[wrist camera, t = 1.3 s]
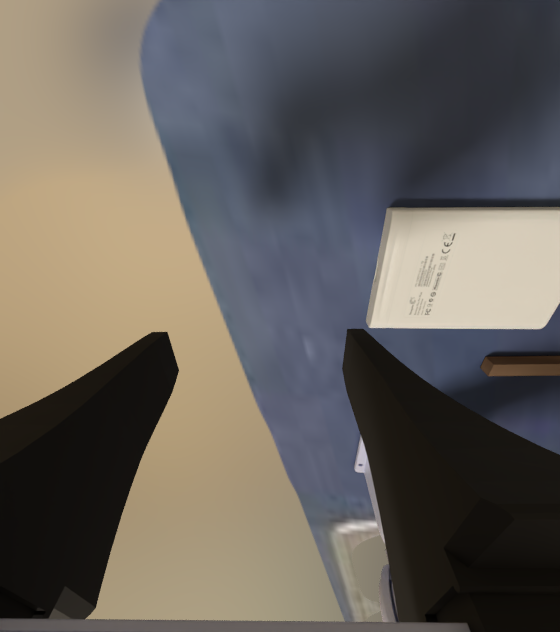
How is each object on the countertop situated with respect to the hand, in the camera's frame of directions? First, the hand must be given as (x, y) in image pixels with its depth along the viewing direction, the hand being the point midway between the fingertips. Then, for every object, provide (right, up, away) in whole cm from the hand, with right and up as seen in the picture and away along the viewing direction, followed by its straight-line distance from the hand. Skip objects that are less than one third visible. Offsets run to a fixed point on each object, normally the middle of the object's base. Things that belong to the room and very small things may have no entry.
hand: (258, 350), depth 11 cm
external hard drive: (+14, +5, +8) cm, 16 cm away
